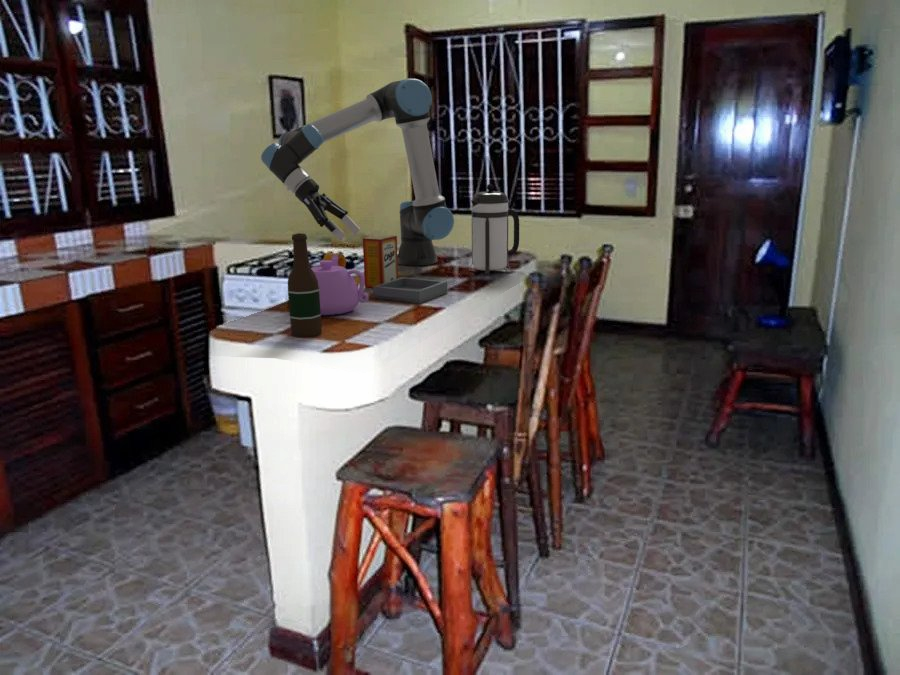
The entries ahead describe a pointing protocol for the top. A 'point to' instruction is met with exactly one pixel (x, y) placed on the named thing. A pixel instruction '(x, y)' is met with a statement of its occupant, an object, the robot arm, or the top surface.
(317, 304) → the beer bottle
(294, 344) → the top surface
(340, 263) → the bracket
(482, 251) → the coffee press
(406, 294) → the tray
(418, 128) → the robot arm
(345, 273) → the teapot
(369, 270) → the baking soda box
